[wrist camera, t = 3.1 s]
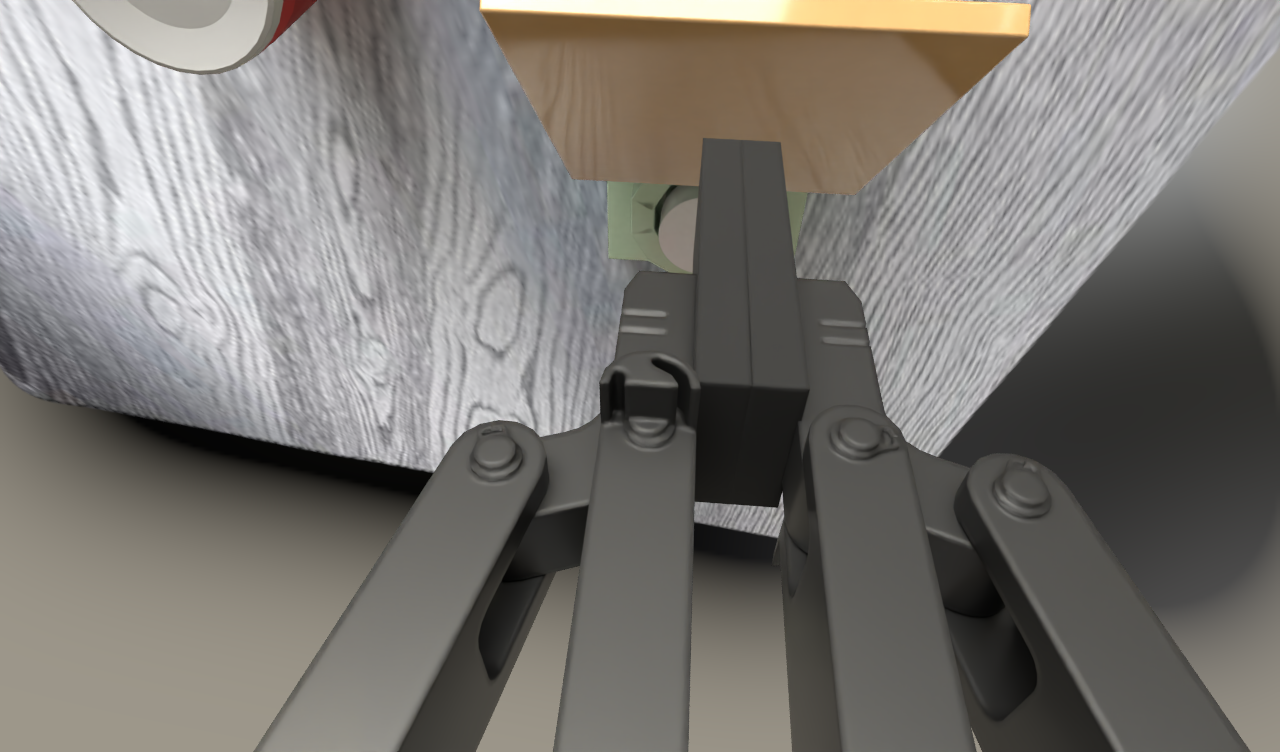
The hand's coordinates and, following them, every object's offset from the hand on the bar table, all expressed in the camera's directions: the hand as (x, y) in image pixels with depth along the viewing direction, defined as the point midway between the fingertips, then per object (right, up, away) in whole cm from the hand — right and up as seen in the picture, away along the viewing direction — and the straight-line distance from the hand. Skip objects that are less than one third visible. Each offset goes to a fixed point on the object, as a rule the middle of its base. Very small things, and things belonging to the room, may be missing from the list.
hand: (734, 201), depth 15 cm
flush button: (+1, +4, +21) cm, 21 cm away
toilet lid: (+1, +5, +7) cm, 9 cm away
